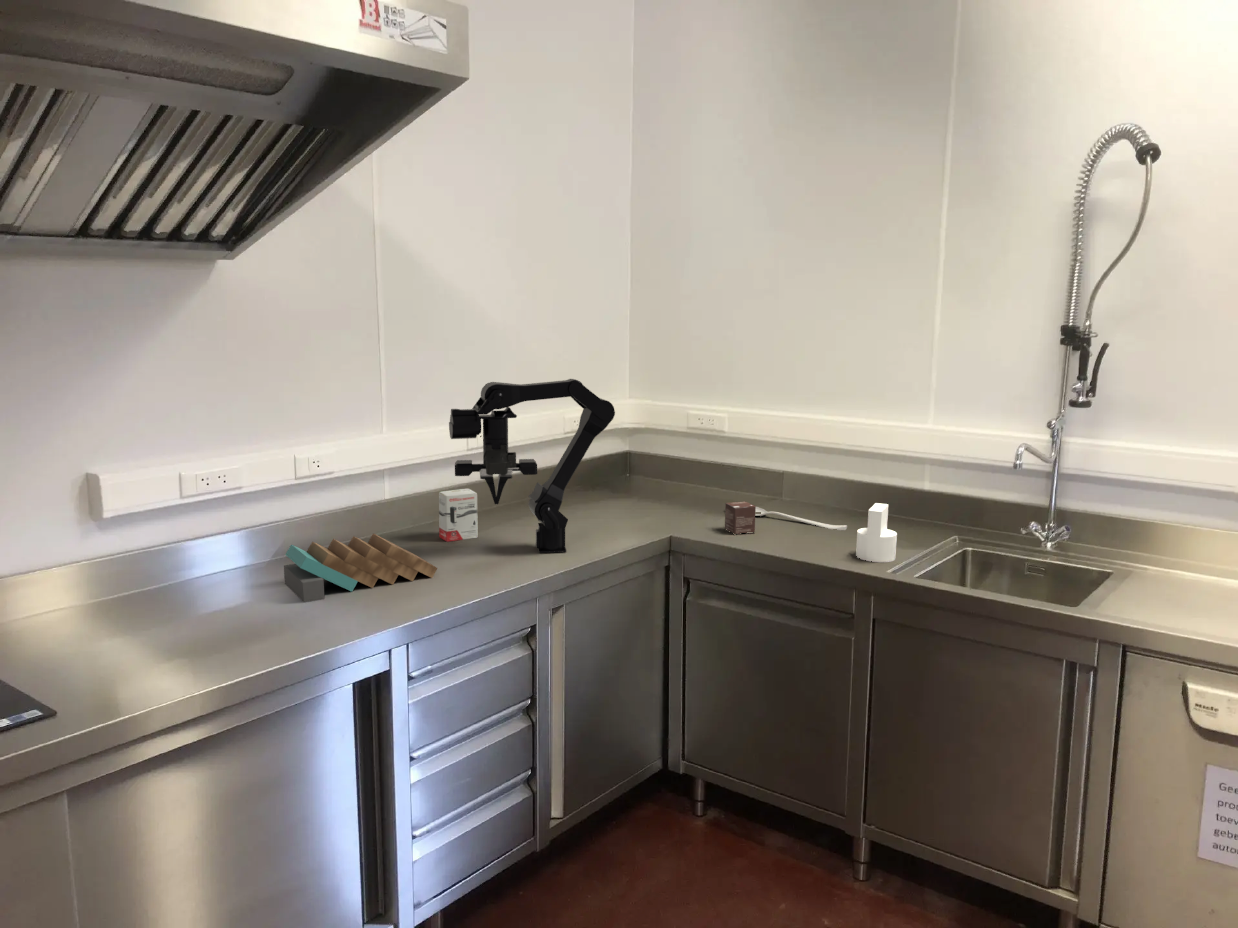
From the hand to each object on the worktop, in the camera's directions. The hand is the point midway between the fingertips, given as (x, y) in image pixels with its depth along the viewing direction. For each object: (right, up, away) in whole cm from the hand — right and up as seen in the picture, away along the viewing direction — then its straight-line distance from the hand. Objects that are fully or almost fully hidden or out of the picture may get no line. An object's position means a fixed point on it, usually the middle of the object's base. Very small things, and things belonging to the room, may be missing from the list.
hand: (496, 503), depth 211 cm
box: (+60, -9, +25) cm, 65 cm away
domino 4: (-18, -14, -14) cm, 27 cm away
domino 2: (-25, -14, -19) cm, 35 cm away
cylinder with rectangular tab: (+89, -13, +3) cm, 90 cm away
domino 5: (-14, -13, -12) cm, 23 cm away
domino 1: (-28, -15, -22) cm, 39 cm away
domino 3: (-21, -14, -17) cm, 31 cm away
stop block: (-36, -17, -26) cm, 47 cm away
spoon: (+74, -7, +38) cm, 84 cm away
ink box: (-12, -9, +16) cm, 22 cm away
